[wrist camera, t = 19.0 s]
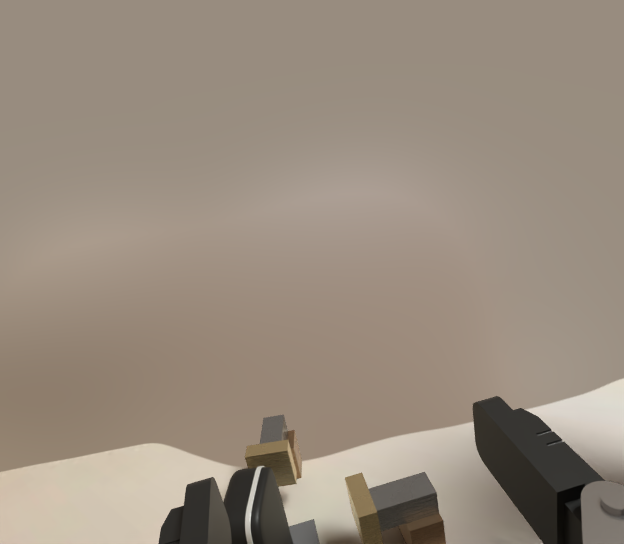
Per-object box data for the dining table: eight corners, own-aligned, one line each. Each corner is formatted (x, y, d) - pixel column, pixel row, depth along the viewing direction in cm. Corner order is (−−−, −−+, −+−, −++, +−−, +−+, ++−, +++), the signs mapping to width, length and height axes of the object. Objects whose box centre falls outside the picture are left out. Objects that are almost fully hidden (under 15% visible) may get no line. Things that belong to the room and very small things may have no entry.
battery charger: (258, 552, 43) (228, 459, 39) (297, 549, 42) (270, 455, 39) (243, 632, 36) (206, 531, 33) (288, 630, 36) (256, 527, 32)
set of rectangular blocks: (283, 449, 56) (270, 399, 53) (459, 533, 41) (452, 469, 39) (235, 496, 50) (217, 442, 48) (418, 612, 36) (407, 543, 33)
